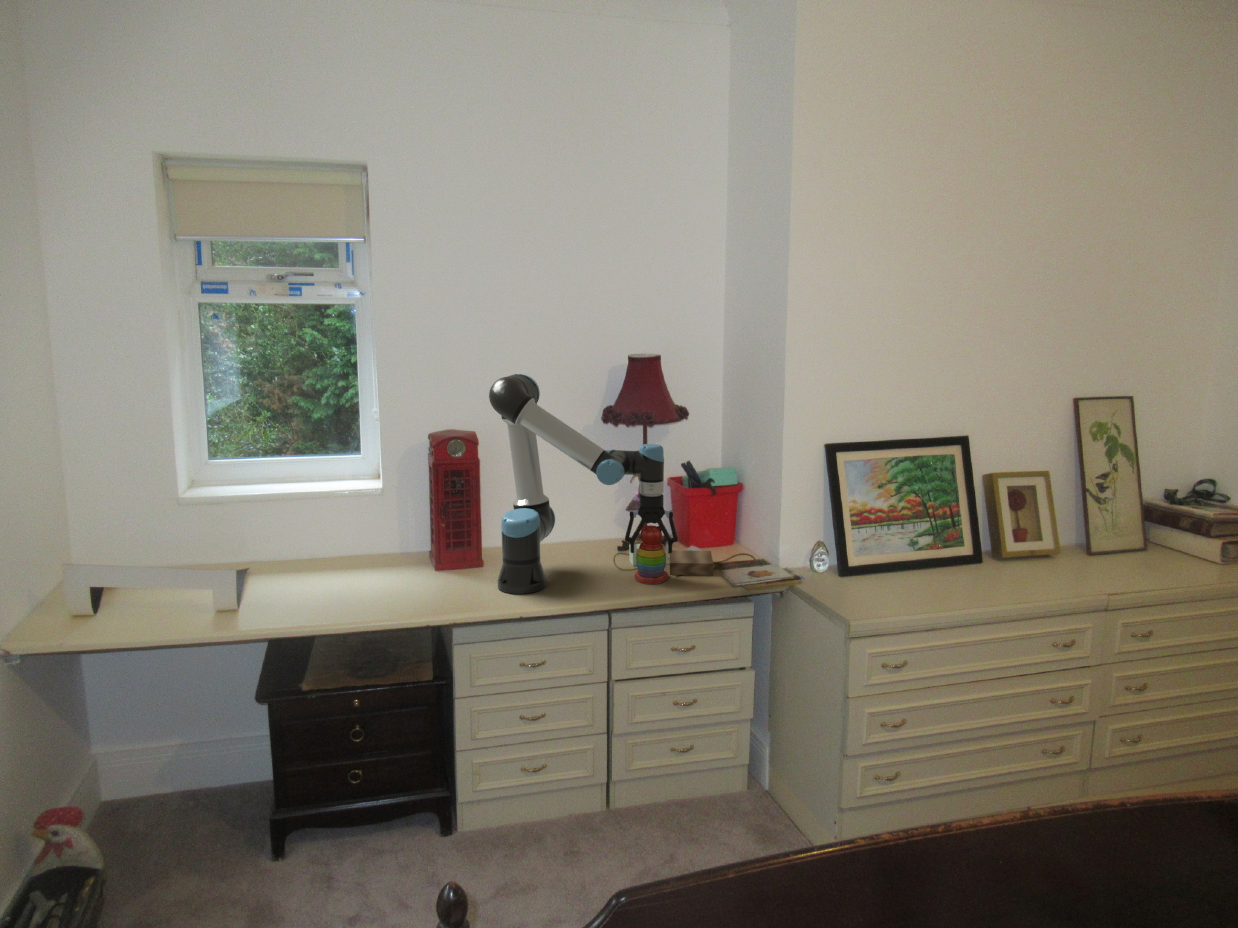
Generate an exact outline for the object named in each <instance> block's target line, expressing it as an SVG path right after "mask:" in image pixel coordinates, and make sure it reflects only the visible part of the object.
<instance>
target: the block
mask: <svg viewBox="0 0 1238 928" xmlns="http://www.w3.org/2000/svg"><path fill="white" fill-rule="evenodd" d="M640 544H641V543H637V554H638V549H639V547H640ZM628 547H629V549H628V551H629V555H628V556H629V557H628V558H629V560H628V561H629V563H630V564H631V565H632V567H637V563H636V564H634V553H631V551H630V543H629V546H628Z"/></svg>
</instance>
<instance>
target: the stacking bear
mask: <svg viewBox="0 0 1238 928" xmlns="http://www.w3.org/2000/svg"><path fill="white" fill-rule="evenodd" d="M662 537H663V532H662V530H661V528H660V526H659V525H658V526H656V525H654V524H653V525H644V526H643V527H642V529H641V531H640V539H641V541H642V542H641V543H639V544H640V547H639V549H638V554H637V558H636V560H637V561H636V563H637V566H636V568H637V570H636V571H635V572H634V580H636V581H637V582H639V583H641V584H644V585H658V584H661V583H664V582H666V581H667V580H668V578H669V573H668V571H666V570H665V568H666V565H667V564H666V550H665V547H664V545H663V544H662V543H661V541H662Z"/></svg>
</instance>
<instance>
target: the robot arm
mask: <svg viewBox="0 0 1238 928" xmlns="http://www.w3.org/2000/svg"><path fill="white" fill-rule="evenodd" d="M540 393H541V392H540V388H539V385H538V383H537V381H536V380H534V378H533V377H531V376H529V375H526V374H523V373H519V374H518V373H514V374H510V375H508V376H507V375H506V376H504V377H501V378H499V379H497V380H496V381H495V382H494V383H493V384H492V385H491V387H490V389H489V393H488V400H489V403H490V405H491V407H492V408H493V410H494V411H496V413H498V415H500V416H501V420H502V421H503V422H504V423H505V424H506V425H507V429H508V432H507V433H508V439H509V440H508V441H509V445H510V446H509V448H510V453H511V461H512V470H513V478H514V486H515V493H516V498H515V499H514V501H513V503H512V506H513V510H508V511H506V512H505V513H504V514H503V515H502V517H501V524H500V530H501V550H502V551H501V553H502V564H501V567H500V570H499V574H498V577H497V589H498V590H499V591H501V592H502V593H503V592H504V593H508V594H512V595H513V594H514V595H519V594H520V595H521V594H522V595H523V594H524V595H525V594H533V593H536V592H540V591H542V590H544V589H546V587H547V576H546V573H545V571H544V568H543V565H542V562H541V542H543V541H544V540H545V539H546V538H547V537H548V536H549V535H550V534H551V533H552V531H553V529H554V527H555V524H556V515H555V512H554V510H553V508H552V507H551V505H550V499H549V497H548V496H546V494H544V487H543V479H542V472H541V463H540V455H539V449H538V446H539V445H538V440H537V439H538V438H539V437H540V438H541V439H542V440H544V441H545V442H547V443H549V444H550V445H551V446H552V447H554V448H556V449H557V450H559V451H560V452H562V453H563V454H565V455H567V456H568V457H569V458H571V459H572V460H573V461H575V462H577V463H578V464H579V465H582V466H583V467H585V468H586V469H587V470H589V471H590V472H592V473H593V474H595V476H596V478H597V480H598V481H599V482H600V483H601V484H603V485H605V486H613V485H615V484H617V483H619V482H620V481H621V480H622V479H623V478H624V476H629V475H633V476H638V475H639V493H640V494H639V499H638V501H639V508H638V509H636V510H633V509H630V510H629V521H628V525H627V527H626V528H627V529H626V532H625V535H624V541H625V542H628V543H629V544H630V551H631V553H634V564H636V561H637V560H636V558H637V544H638V541H637V538H638V536H639V534H641V531H642V530H641V529H642V527H643V526H645V524H651V523H652V524H657V525H658V526H660V528H661V530H662V531H661V532H662V535H663V536H664V538H665V539H666V541H665V556H666V565H669V553H672V550H673V544H674V543H678V541H679V539H678V534H677V530H676V526H675V522H674V510H672V509H671V510H666V509H665V508H664V490H665V489H664V487H665V486H664V484H665V482H664V481H665V480H664V473H665V469H664V468H665V458H664V457H665V456H664V447H663V446H662V445H661V444H656V443H645V444H644V443H643V444H641V445H640V446H639V449H638V450H619V449H618V450H617V449H608V450H606V449H604V448H603V447H601V446H600V445H599V444H596V443H595V442H593V441H592V440H590V439H589V438H587V437H586V436H585V435H583V434H581V433H580V432H578V431H577V430H575V429H574V428H573V427H571V426H570V425H568V424H566V423H565V422H564V421H562V420H560V418H558V417H556V416H555V415H553V414H551V413H550V412H548V411H547V410H546V409H544V408H543V407H542V406H540V405H538V402H539V400H540V395H541V394H540ZM537 436H538V438H537ZM637 515H638V516H639V517H640V518H641V520H640V521H639V524H638V526H636V529H635V531H634V533H633V535H632V536H630V535H631V532H632V527H633V524H634V521H635V518H636V517H637ZM664 515H665V517H666V518H667V519H668V522H669V527H670V531H671V533H672V534H669V532H668V529H667V528H666V526H665V524H664V522H663V520H662V518H663V517H664ZM671 535H672V537H671Z"/></svg>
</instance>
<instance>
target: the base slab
mask: <svg viewBox="0 0 1238 928" xmlns="http://www.w3.org/2000/svg"><path fill="white" fill-rule="evenodd" d="M668 565H669V575H670V576H714V560H713V555H712V551H711V550H688V549H687V550H681V549H680V550H679V549H678V550H676V549H675V550H673V549H672V553H668Z"/></svg>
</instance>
